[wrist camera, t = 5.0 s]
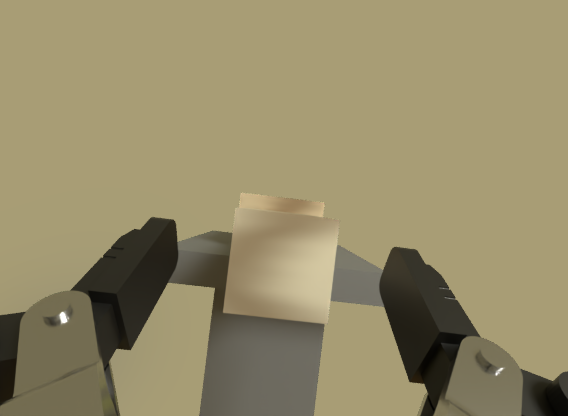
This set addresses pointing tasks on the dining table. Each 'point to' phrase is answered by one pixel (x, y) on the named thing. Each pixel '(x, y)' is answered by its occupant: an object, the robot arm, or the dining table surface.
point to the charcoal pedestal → (263, 336)
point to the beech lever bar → (281, 259)
